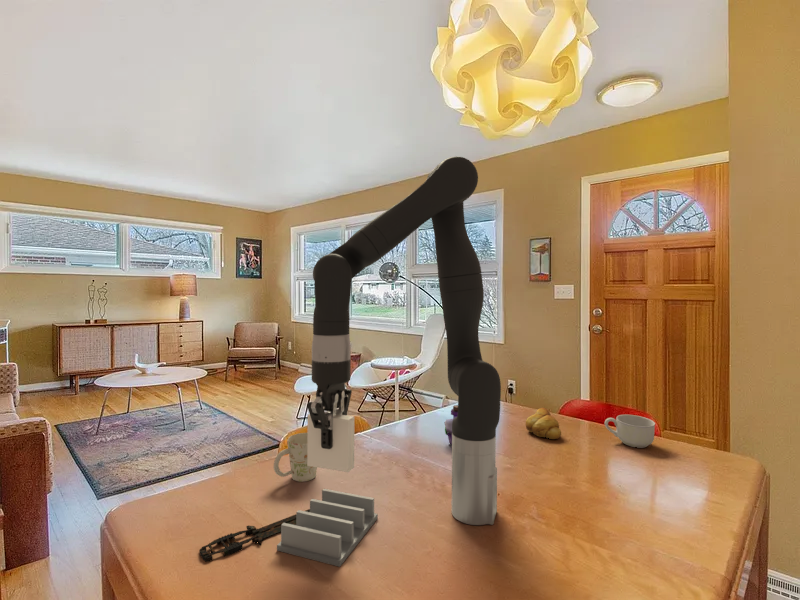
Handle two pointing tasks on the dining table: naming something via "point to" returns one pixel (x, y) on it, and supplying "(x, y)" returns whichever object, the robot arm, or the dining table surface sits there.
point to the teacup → (633, 430)
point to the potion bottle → (450, 423)
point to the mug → (296, 459)
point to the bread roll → (543, 424)
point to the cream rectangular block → (342, 448)
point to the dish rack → (329, 527)
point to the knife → (237, 546)
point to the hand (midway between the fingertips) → (330, 445)
